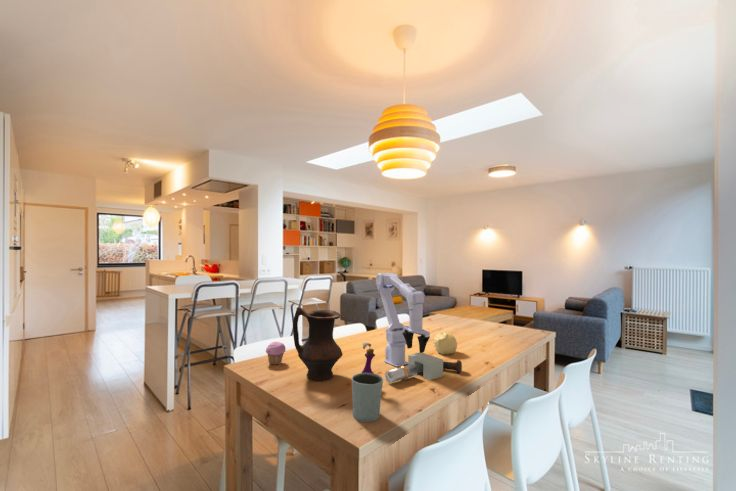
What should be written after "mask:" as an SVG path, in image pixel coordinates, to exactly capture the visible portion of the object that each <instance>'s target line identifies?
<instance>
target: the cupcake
mask: <svg viewBox="0 0 736 491" xmlns="http://www.w3.org/2000/svg"><path fill="white" fill-rule="evenodd" d="M285 352H286V346H285V344H284V343H282V342H280V341H272V342H270V343H269V344H268V345H267V347H266V350H265V353H266V354H267V357H268V358H267V359H268V363H269V365H273V364H274V365H275V364H276V365H279V364H280V363H282V362H283V358H284V353H285Z"/></svg>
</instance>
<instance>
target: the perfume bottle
mask: <svg viewBox="0 0 736 491" xmlns="http://www.w3.org/2000/svg"><path fill="white" fill-rule="evenodd" d="M367 346H368V347H369V348H368V349H366V348H367ZM371 346H372V344H371V343H368V342H363V343H362V348H363V350H365V349H366V353H364V357H365V358H366V360H365V365H364V368H363V370H362V371H361V373H373V374H375V373H374V371H373V369H372V367H371V366H372V359H374V357H375V356H376V354H375V353H374V351H375V349H373V348H371Z"/></svg>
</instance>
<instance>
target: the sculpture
mask: <svg viewBox="0 0 736 491" xmlns="http://www.w3.org/2000/svg"><path fill="white" fill-rule="evenodd" d="M433 344H434V345H433V347H434V349H435V351H436V352H437V353H439V354H441V355H450V354H451V355H452V354H454V353H455V352H456V351H457V348H458V342H457V338H456V337H455V336H454V335H452V334H451V333H448V332H446V331H443V332H439V333H437V334H435V335H434V339H433Z"/></svg>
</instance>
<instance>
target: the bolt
mask: <svg viewBox="0 0 736 491" xmlns="http://www.w3.org/2000/svg"><path fill="white" fill-rule="evenodd" d="M462 363H463V362H462V361H461V360H459V359H457V361H456V362H452V361H451V362H450V361H444V360H443V370H450V371H451V370H452V371H456V374H459V375H460V374H461V373H462V370H463V364H462Z"/></svg>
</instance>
